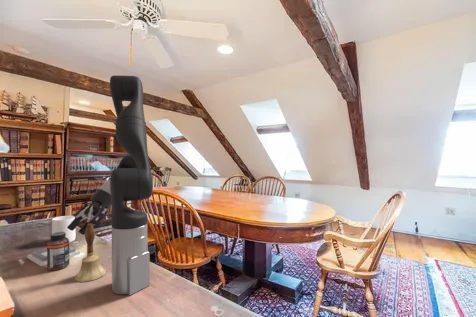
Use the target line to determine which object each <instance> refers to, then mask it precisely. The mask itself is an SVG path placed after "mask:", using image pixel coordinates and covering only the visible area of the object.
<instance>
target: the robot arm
mask: <svg viewBox="0 0 476 317" xmlns="http://www.w3.org/2000/svg"><path fill="white" fill-rule="evenodd" d="M109 88H110V89H109V91H110V94H111V98H112V103H113V107H114V111H115V114H116V117H117V118H116V120H115V138H116V141H117V142H118V144H119V145H120V147H122V149H123V151H124V152H126V153H128V154H127V155H125V156H123V157H122V158H121V159H120V162H119V163H118V166H117V167H116V168H115V169H113V170H112V171H111V174H110V177H109V178H108V179H107V180H106V181H105V182H104V183H103V184H101V186H100V187H99V188H98V189H97V190H96V192H94V193H93V195H92V196H91V197H90V200H91V202H90V204H88V203H87V202H86V203H84V204H83V205H82V206H81V207H80V208H79V209H78V210H77V211H76V212H75V213H74V214H73V216H74V217H75V219H74V220H73V221H72V222H71V223H70V225H69V226H68V227H67V228H68V229H70V230H71V231H73V230H74V229H75V228H77V226H79V224H80V223H81V222H82V221H83V220H87V221H86V222H85V223H84V224H83V225H82V226H81V227H80V228H79V230H78V233H79V234H81V235H83V236H85V230H86V228H87V224H89V223H92V225H93V227H94V226H95V225H96V226H98V225H99V224H100V223H101V221H102V220H103V219H104V217H106V215H107V214H108V212H109V209H110V208H111V290H112V292H113V293H115V294H117V295H129V296H131V295H135V293H137V292H139V291H142V290H143V289H145V288H147V287H149V286H150V284H151V281H150V280H151V278H150V277H151V273H150V270H151V269H150V262H151V261H150V260H151V259H150V258H151V257H150V251H149V250H148V214H147V213H146V212H145V211H142V210H137V209H133V208H130V207H129V206H126V205H125V202H130V201H131V202H132V201H141V200H142V201H144V200H147V199H148V200H149V199H150V198H151V197H152V195H153V190H154V186H153V185H154V183H153V176H152V175H153V174H152V169H151V164H150V158H149V152H148V137H147V136H148V135H147V127H146V126H147V125H146V120H145V113H144V87H143V82H142V80H141V79H140V77H138V76H135V75H118V74H117V75H112V76H110V79H109ZM123 102H130V103H129V104H128V105H127V106H124V104H123Z"/></svg>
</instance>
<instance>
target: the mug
mask: <svg viewBox="0 0 476 317" xmlns="http://www.w3.org/2000/svg"><path fill="white" fill-rule="evenodd" d="M74 219H75V217H74V215H62V216H55V217H53V218H52V219H51V234H52V233H56V232H65V233H66V236H65V237H66V238H68V239H69V243H72V242H74V241H75V240H76V236H77V235H76V231H77V230H76V228H77V227H76V228H75V229H74V230H73V231H71V230H70V229H68V228H67V227H68V226H69V225H70V223H71V222H72V221H73V220H74Z"/></svg>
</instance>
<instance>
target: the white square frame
mask: <svg viewBox="0 0 476 317" xmlns="http://www.w3.org/2000/svg"><path fill="white" fill-rule="evenodd" d="M80 252H81V251H80V250H78V249H76V248H75V247H73V246H71V245H69V258H72V257H74V256H78V255H80ZM27 259H28V260H30V261H32V263H34V264H37V265H38V266H40V267H43V266H47V247H45V248H40V249H39V250H34V251H32V252H31V254H28V255H27Z"/></svg>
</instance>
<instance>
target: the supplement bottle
mask: <svg viewBox="0 0 476 317" xmlns="http://www.w3.org/2000/svg"><path fill="white" fill-rule="evenodd" d="M65 236H66V233H65V232H56V233H52V232H51V234H50V240H48V242H46V248H47V264H46V266H47V270H48V271H52V272H53V271H59V270H63V269H65V268H67V267H68V266H69V265H70V257H69V246H70V242H69V239H68V238H66V237H65Z"/></svg>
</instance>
